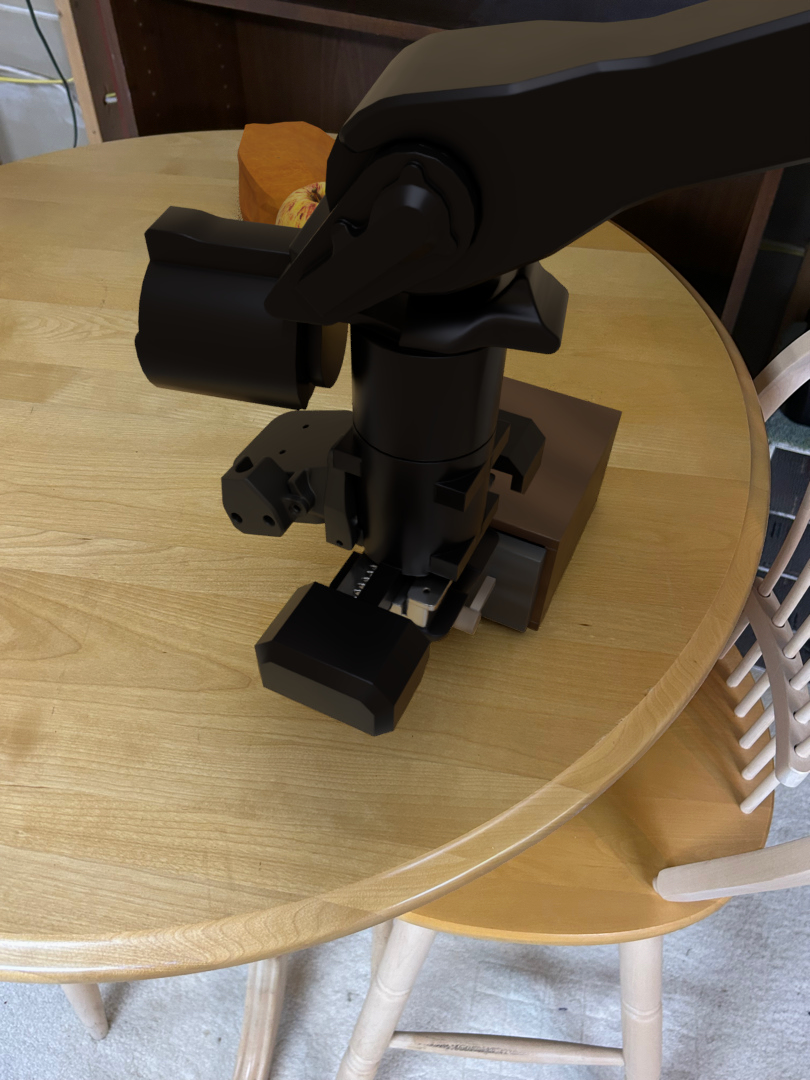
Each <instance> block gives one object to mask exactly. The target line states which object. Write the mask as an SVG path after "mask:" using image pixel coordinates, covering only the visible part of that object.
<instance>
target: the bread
mask: <svg viewBox="0 0 810 1080" xmlns="http://www.w3.org/2000/svg"><path fill="white" fill-rule="evenodd" d="M335 140H336V138H333V137H332V136H330V135H329V134H328V133H327V132H325V131H324V130H323V129H321V128H320V127H318V126H315V125H314V124H311V123H308V122H306V121H302V120H301V121H282V122H274V123H269V124H268V123H247V124H245V125H244V129H243V132H242V136H241V139H240V142H239V145H238V149H237V155H236V157H237V161H238V205H239V209H240V214H241V217H242V219H243V220H242V221H250V222H258V223H265V224H273V225H276V219H277V215H278V212H279V210H280V208H281V206H282V204H283V202H284V201H285V200H286V199H287V197H288V196H289V195H291V194H292V193H293V192H294V191H296V190H297V189H299V188H302V187H304V186H307V185H310V184H312V183H316V182H326V167H327V159H328V157H329V154H330V152H331V149H332V147H333V145H334V142H335Z"/></svg>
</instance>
